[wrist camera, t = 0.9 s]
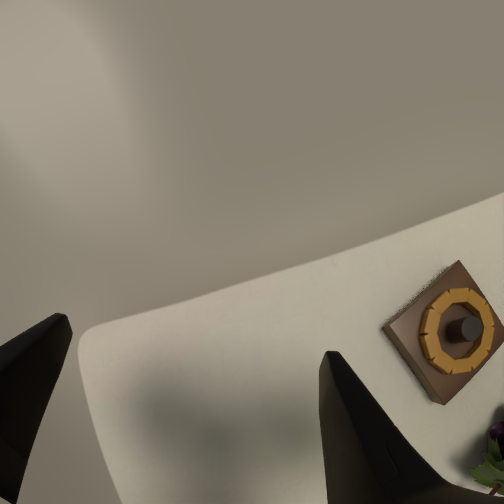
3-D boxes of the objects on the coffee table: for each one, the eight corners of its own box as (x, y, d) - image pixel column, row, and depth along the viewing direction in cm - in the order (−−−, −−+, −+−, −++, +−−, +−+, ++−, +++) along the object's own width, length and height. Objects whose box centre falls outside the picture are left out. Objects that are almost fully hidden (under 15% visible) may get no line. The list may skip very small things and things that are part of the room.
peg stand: (495, 337, 23) (527, 332, 18) (433, 402, 22) (459, 411, 17) (448, 266, 26) (474, 248, 21) (381, 327, 25) (399, 321, 20)
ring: (499, 333, 21) (506, 332, 19) (446, 390, 20) (452, 391, 19) (459, 273, 23) (465, 270, 22) (403, 327, 23) (408, 326, 22)
